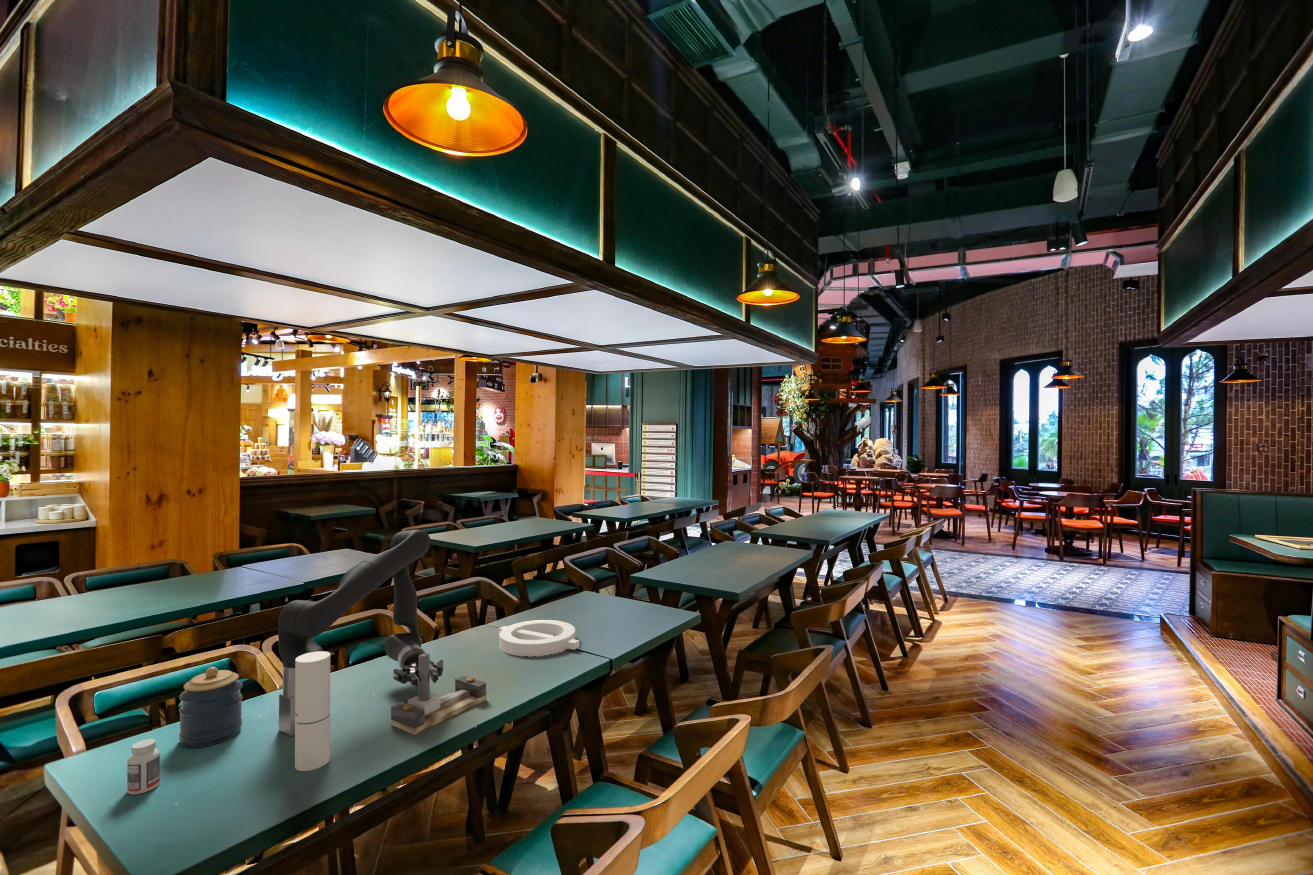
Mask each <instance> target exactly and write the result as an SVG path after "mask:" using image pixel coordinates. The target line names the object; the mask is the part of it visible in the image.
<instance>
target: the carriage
mask: <svg viewBox="0 0 1313 875" xmlns="http://www.w3.org/2000/svg"><path fill="white" fill-rule="evenodd" d="M430 657H431V655H430V653H427V652H425V653H424V654H420V655H419V678H418V695H416V696H414V697H413V696H412V697H411V698H408V699H407V704H412V705H413V707H416V708H418V709H421V710H424V711H425V715H426V714H428V713H430V712H432V711H434V710H437V709H439V708H440V697H436V696H434V695H431V694H430V691H431V690H430V688H431V687H430V686H431V685H430V680H431V678H430V661H431V658H430Z"/></svg>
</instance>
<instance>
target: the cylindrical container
mask: <svg viewBox="0 0 1313 875" xmlns="http://www.w3.org/2000/svg"><path fill="white" fill-rule="evenodd" d="M330 743H331V653H330V651H324V650H323V651H318V652H311V653H306V654H303V655H301V656H298V657H297V658H296V659H295V735H294V769H295V770H296V771H299V772H308V771H314V770H317V769H319V768H321V767H324V766H326V765H327V764H328V763H329V762H330V760H331V744H330Z"/></svg>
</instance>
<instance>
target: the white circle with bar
mask: <svg viewBox="0 0 1313 875" xmlns="http://www.w3.org/2000/svg"><path fill="white" fill-rule="evenodd" d="M554 635H555V636H554ZM498 636H499V638H498V640H499V644H498V645H499V649H500V651H502V653H505V654H508V655H511V656H516V657H524V656H528V657H532V658H533V656H536V657H544V656H545V655H546V656H551V655H550V654H552V655H555V653H556V654H559V652H560V653H562V652H564V651H567V650H573V651H574V650H577V649H578V648H580V640H579V639H576V628H575V626H574V625H573V624H571V623H568V622H565V621H561V620H555V619H554V620H553V619H535V620H526V621H520V622H516V623H512V624H511V625H507V626H506V625H504V626H501V627H499V628H498ZM566 649H567V650H566Z"/></svg>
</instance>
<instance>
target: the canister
mask: <svg viewBox="0 0 1313 875" xmlns="http://www.w3.org/2000/svg"><path fill="white" fill-rule="evenodd" d="M239 677H240V675H239V673H236V672H234V671H231V670H227V669H220V670H219V669H218V668H217V667H215V666H210V667H208V668H207V669H206V671H205V672H203V673H201V674H198V675H195V676H193V677H192V678H191V679H190V680H189V681H187V682H186V683H185V684H184V685H183V689H184V691H182V692H181V693H180V695H179V700H180V701H181V706H180V707H179V709H178V711H179V733H178V736H179V737H178V739H179V743H180V745H181V746H182V747H185V748H191V749H192V748H204V747H208V746H213V745H217V744H220V743H222V742H225V741H228V740H229V739H232V738H233V737H235V736H236V735H237V734H239V733H240V731H241V729H242V726H243V717H242V709H243V708H242V703H243V701H242V700H243V694H242V693H241V689H242V687H243V682H242V681H240V680H239Z"/></svg>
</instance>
